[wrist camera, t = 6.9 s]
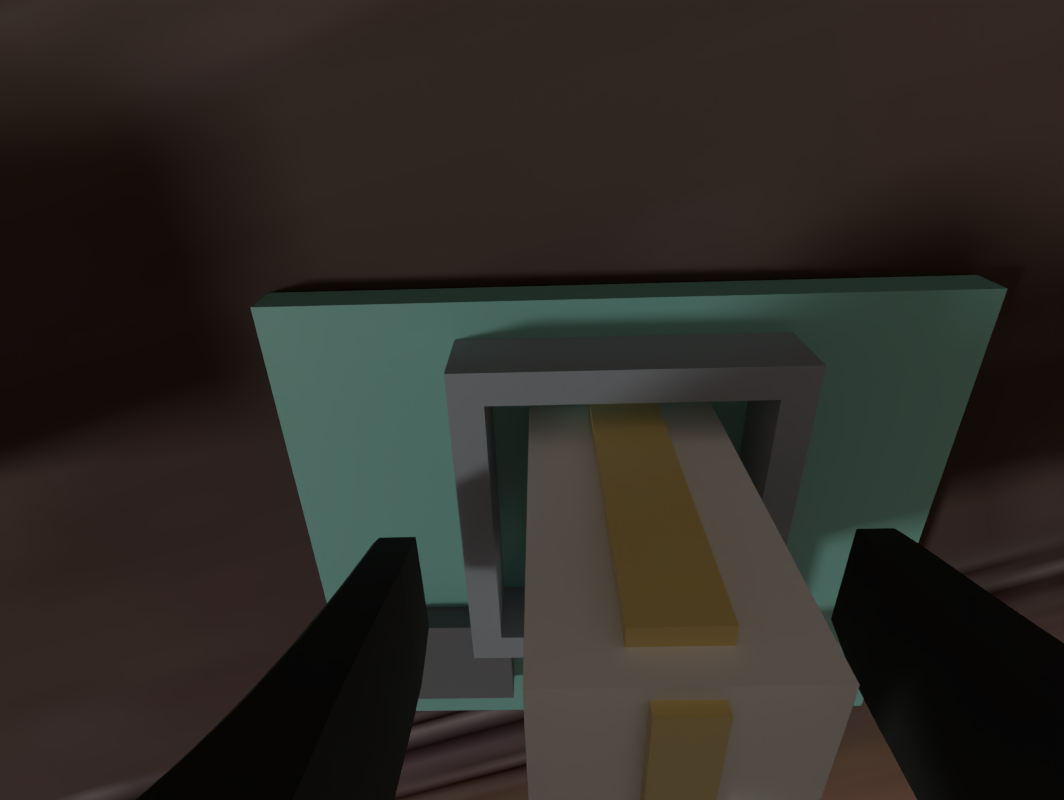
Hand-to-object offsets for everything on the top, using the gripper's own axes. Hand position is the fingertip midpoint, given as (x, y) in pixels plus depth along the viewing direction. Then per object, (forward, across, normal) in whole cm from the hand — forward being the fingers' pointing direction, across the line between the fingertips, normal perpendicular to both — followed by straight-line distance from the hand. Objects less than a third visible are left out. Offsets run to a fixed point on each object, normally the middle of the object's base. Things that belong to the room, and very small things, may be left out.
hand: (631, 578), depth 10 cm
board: (+3, 0, +2) cm, 4 cm away
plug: (+2, 0, 0) cm, 2 cm away
